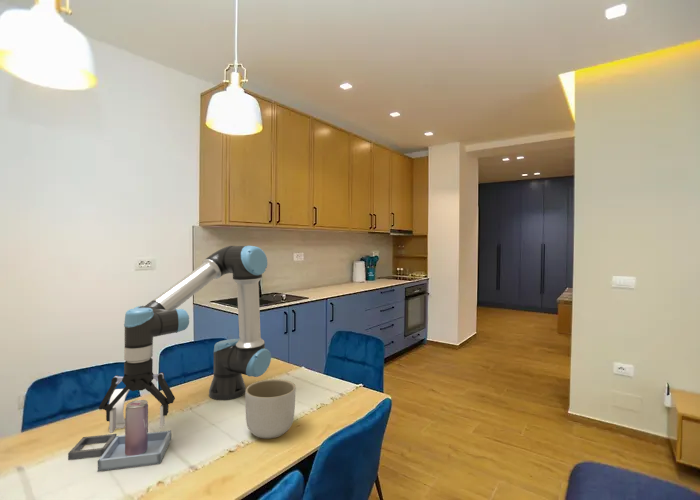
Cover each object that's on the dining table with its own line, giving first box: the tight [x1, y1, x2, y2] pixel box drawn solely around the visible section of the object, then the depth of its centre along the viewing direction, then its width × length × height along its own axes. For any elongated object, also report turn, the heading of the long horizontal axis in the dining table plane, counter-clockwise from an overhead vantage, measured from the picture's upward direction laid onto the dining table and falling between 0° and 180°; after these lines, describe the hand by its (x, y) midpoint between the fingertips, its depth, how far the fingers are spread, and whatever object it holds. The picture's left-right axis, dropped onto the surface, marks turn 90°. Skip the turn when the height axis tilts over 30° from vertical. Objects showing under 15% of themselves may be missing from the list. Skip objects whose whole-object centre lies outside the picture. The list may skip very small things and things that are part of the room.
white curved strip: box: [108, 388, 130, 430], centre depth 127 cm, size 5×6×12 cm
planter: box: [244, 378, 297, 440], centre depth 125 cm, size 17×17×15 cm
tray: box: [97, 429, 172, 473], centre depth 110 cm, size 16×14×3 cm
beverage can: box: [124, 399, 149, 456], centre depth 110 cm, size 6×6×15 cm
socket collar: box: [67, 433, 118, 461], centre depth 112 cm, size 10×10×2 cm
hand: (137, 428), depth 110 cm, fingers open, 13 cm apart
